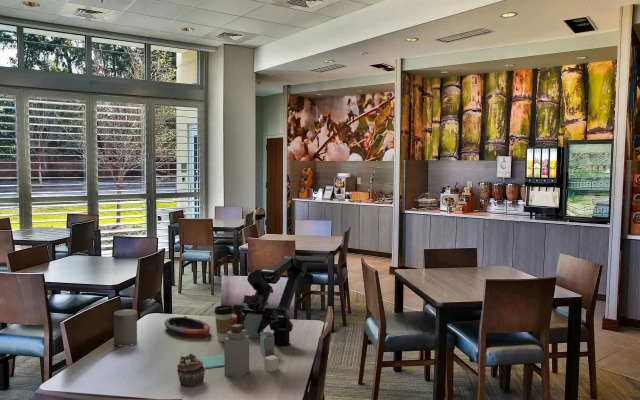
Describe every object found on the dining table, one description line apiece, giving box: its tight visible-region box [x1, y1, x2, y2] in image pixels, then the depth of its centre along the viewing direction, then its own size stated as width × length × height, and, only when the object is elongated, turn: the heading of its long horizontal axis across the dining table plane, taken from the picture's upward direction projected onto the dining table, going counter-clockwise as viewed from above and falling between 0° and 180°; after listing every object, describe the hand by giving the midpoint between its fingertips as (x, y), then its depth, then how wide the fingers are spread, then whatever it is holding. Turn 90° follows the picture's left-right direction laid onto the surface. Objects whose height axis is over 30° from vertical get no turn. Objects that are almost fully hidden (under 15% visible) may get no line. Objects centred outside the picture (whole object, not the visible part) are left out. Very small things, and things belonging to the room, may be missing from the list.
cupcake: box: [177, 353, 206, 389], centre depth 183 cm, size 10×10×10 cm
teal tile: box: [197, 354, 225, 370], centre depth 203 cm, size 11×11×1 cm
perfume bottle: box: [223, 324, 250, 378], centre depth 192 cm, size 7×7×18 cm
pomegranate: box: [232, 312, 244, 329], centre depth 249 cm, size 10×10×9 cm
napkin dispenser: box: [259, 331, 276, 357], centre depth 212 cm, size 4×7×8 cm, turn 21°
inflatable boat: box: [164, 315, 211, 339], centre depth 241 cm, size 16×31×5 cm, turn 45°
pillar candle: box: [113, 308, 138, 346], centre depth 226 cm, size 10×10×15 cm
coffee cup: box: [214, 304, 233, 343], centre depth 230 cm, size 8×8×15 cm
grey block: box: [263, 354, 280, 373], centre depth 196 cm, size 4×4×4 cm
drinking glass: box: [243, 306, 265, 339], centre depth 237 cm, size 10×10×12 cm
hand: (247, 332), depth 199 cm, fingers open, 9 cm apart
